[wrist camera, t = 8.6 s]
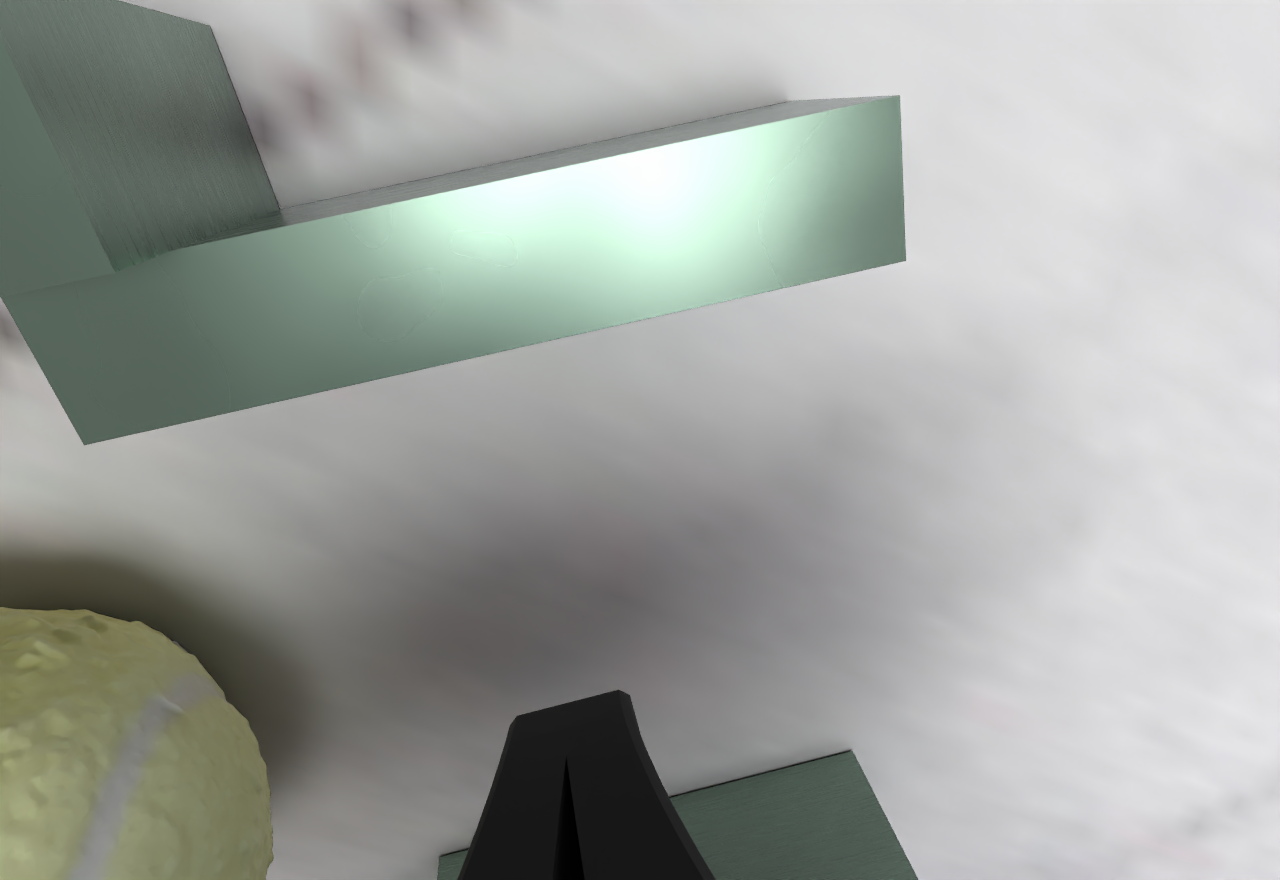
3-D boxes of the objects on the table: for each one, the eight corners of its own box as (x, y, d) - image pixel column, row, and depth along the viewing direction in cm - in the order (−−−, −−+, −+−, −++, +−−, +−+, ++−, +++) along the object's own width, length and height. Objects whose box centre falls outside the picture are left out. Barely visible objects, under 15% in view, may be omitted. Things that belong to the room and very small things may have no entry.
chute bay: (863, 870, 16) (965, 1097, 12) (-81, 1119, 15) (-279, 1448, 11) (774, -87, 9) (956, -235, 5) (-1061, 278, 8) (-2498, 426, 4)
